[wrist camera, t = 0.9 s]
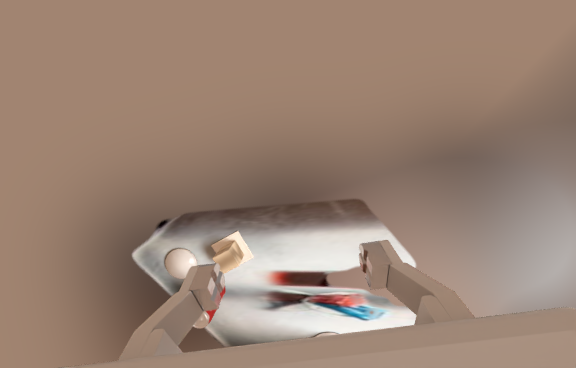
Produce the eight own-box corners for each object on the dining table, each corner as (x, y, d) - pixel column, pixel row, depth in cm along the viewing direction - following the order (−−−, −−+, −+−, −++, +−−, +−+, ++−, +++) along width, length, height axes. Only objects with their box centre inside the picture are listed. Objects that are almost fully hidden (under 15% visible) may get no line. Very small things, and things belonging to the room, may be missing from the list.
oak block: (244, 254, 59) (238, 265, 53) (229, 262, 60) (222, 274, 54) (235, 240, 59) (228, 249, 53) (220, 248, 59) (212, 258, 53)
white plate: (203, 268, 60) (201, 270, 60) (177, 282, 61) (176, 283, 60) (186, 243, 60) (185, 244, 59) (161, 257, 60) (159, 258, 60)
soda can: (229, 286, 61) (213, 318, 49) (219, 299, 62) (202, 333, 50) (215, 276, 61) (195, 306, 49) (205, 289, 61) (183, 321, 49)
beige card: (254, 257, 60) (253, 257, 59) (227, 270, 60) (227, 271, 60) (237, 230, 59) (237, 231, 58) (211, 245, 59) (211, 245, 59)
